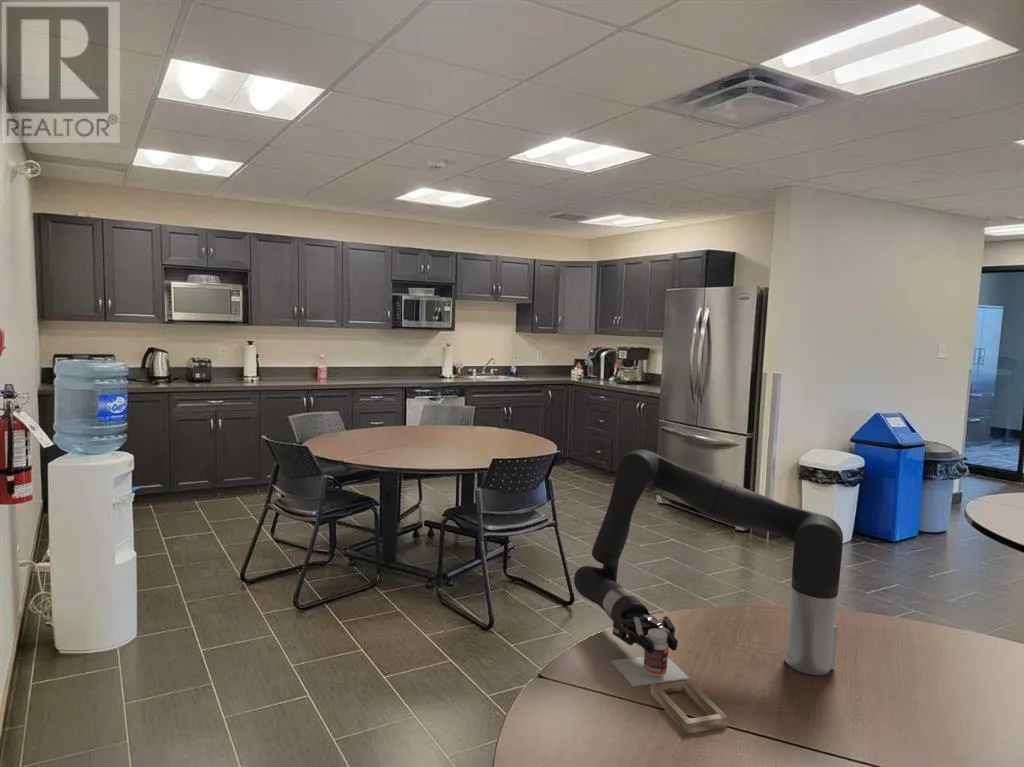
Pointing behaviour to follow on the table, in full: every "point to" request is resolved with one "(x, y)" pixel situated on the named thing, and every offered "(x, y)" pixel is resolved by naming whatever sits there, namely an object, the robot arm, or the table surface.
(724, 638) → the table surface
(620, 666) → the mat
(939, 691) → the table surface
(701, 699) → the wooden rectangular frame
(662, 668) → the pill bottle
